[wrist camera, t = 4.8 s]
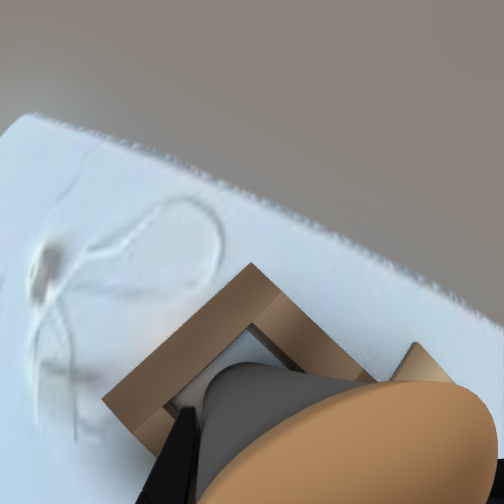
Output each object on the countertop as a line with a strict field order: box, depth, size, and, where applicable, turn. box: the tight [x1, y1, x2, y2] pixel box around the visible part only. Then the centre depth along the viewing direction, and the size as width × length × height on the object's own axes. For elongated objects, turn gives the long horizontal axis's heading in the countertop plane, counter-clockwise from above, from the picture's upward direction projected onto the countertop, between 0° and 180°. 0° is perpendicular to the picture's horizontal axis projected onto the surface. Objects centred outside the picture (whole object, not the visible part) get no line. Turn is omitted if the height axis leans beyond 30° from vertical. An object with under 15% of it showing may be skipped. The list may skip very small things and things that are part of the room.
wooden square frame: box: [102, 262, 377, 457], centre depth 14 cm, size 11×11×2 cm
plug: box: [196, 362, 498, 504], centre depth 8 cm, size 5×5×14 cm
